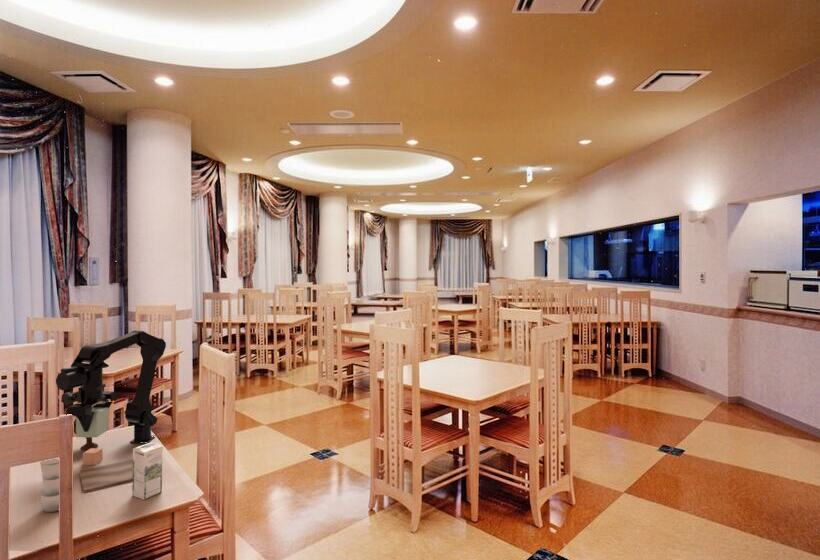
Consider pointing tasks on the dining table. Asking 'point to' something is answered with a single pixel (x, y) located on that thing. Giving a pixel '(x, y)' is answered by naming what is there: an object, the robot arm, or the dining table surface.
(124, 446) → the dining table surface
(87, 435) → the mint green cube
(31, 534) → the dining table surface
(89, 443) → the ice cream bowl
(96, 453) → the terracotta cube
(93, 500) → the dining table surface
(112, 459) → the dining table surface
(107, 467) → the walnut board
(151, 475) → the syrup box
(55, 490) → the plastic bottle
